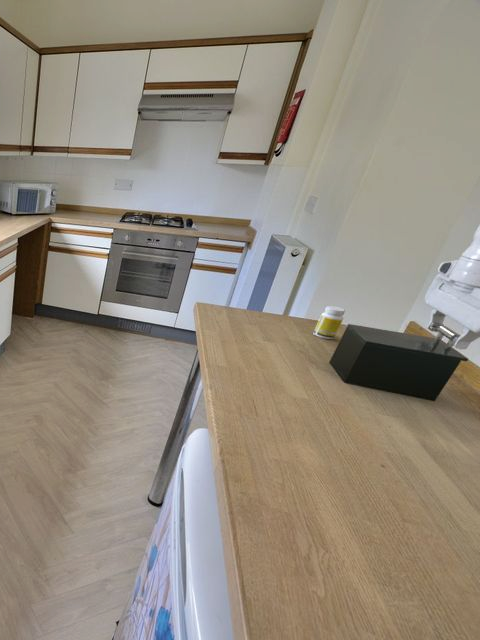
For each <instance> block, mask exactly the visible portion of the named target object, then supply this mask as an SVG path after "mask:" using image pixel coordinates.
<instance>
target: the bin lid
mask: <svg viewBox="0 0 480 640" xmlns="http://www.w3.org/2000/svg"><path fill="white" fill-rule="evenodd" d="M347 327H349V328H350V329H351V330H352V331H353V332H354V333H355V334H356V335H357V336H358V337H359V338H360V339H361V340H362V341H363V342H364V343H365V344H371V345H376V346H382V347H388V348H393V349H399V350H405V351H410V352H416V353H422V354H427V355H433V356H439V357H444V358H450V359H456V360H461V362H468V361H469V358H468V357H466V356H465V355H464V354H462V353H461V352H459V351H458V350H457V349H456V348H454V347H453V346H452V345H451V343H452V342H453V340H454V338H455V337H456V338H459V337H460V336H461V335H462V334H459V333H458V332H457V331H455V330H453V329H451V328H449V327H448V326H446V325H444V326H440V327H439V328H438V329H437V331H438V332H437V335H436V336H435V337H430V336H424V335H418V334H412V333H405V332H400V331H394V330H388V329H382V328H376V327H369V326H364V325H357V324H351V323H347ZM444 337H445V338H446V339H448V341H447V343H446V342H445V341H444V340H442V339H443V338H444Z"/></svg>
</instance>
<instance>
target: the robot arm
mask: <svg viewBox="0 0 480 640" xmlns="http://www.w3.org/2000/svg"><path fill="white" fill-rule="evenodd" d="M437 272H438V274H436V275H435V277H434V278H433V280H432V282H431V283H430V285H429V288H428V289H427V291H426V292H425V295H424V304H426V305H428V306H429V307H431V308H432V310H431V312H430V318H429V322H428V324H427V326H426V329H427V330H429V331H430V332H435V333H439V332H438V331H437V329H438V328H439V327H440V326H445V324H444V322H445V318H446V317H448V318H449V319H451V320H453V321H455V322H456V323H458V324H460V325H461V326H463V327H464V328H463V330H462V332H463V333H462V334H460V335H461V336H460V337H459V338H456V337H455V338H454V340H453V342H452V343H451V345H452V347H453V348H454V349H459V350H466V349H468V348H469V346H470V345H471V343H473V342H474V341H476V340H478V339H480V224H479V225H478V227H477V228H476V230H475V231H474V234H473V239H472V242H471V244H470V245H469V246H468V247H467V248H466V249H465V250H464V251H463V252H462V254H461V255H460V256H459V258H458V259H455V260H449V261H448V260H447V261H443V262H440V264H439V266H438V267H437Z"/></svg>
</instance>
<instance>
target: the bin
mask: <svg viewBox="0 0 480 640" xmlns="http://www.w3.org/2000/svg"><path fill="white" fill-rule="evenodd" d="M461 363H462V361H461V360H456V359H450V358H444V357H439V356H433V355H427V354H422V353H416V352H410V351H405V350H399V349H393V348H388V347H382V346H376V345H371V344H365V343H364V342H363V341H362V340H361V339H360V338H359V337H358V336H357V335H356V334H355V333H354V332H353V331H352V330H351V329H350V328H349V327H348V326H346V328H345V330H344V332H343V333H342V336H341V338H340V340H339V342H338V344H337V346H336V348H335V349H334V351H333V353H332V356H331V358H330V360H329V364H330V366H331V367H332V368H333V370H334V371H335V373H336V374H337V375H338V377H339V378H340V379H341V381H342V382H343V383H344V384H349V385H354V386H359V387H363V388H364V387H365V388H367V389H374V390H379V391H383V392H388V393H393V394H397V395H402V396H407V397H413V398H416V399H417V398H418V399H422V400H428V401H431V402H436V400H437V398H438V397H439V396H440V394H441V393H442V391H443V390H444V388H445V386H446V385H447V383H448V382H449V380H450V379H451V377H452V376H453V374H454V372H455V371H456V370H457V368H458V366H459V365H460V364H461Z"/></svg>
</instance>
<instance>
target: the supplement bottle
mask: <svg viewBox="0 0 480 640" xmlns="http://www.w3.org/2000/svg"><path fill="white" fill-rule="evenodd" d="M324 309H325V310H324V311H323V312H322V313H321V314H320V316H319V318H318V321H317V323H316V325H315V328H314V329H313V332H312V334H313V336H316V337H318V338H321V339H324V340H334V338H335V337H336V336H337V335H336V334H337V333H338V331H339V328H340V327H341V325H342V322H343V320H344V314H345V313H346V309H344V308H342V307H339V306H335V305H326V307H325V308H324Z"/></svg>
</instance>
